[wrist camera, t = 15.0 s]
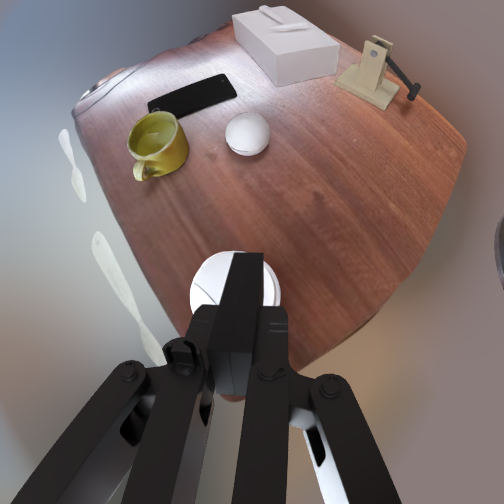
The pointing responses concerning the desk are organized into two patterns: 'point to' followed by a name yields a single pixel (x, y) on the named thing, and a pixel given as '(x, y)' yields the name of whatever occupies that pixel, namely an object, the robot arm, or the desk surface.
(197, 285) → the coffee cup
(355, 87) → the lever base
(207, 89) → the cell phone
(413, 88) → the black lever
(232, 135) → the white sphere
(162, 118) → the mug
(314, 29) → the hammer on box
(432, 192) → the desk surface
